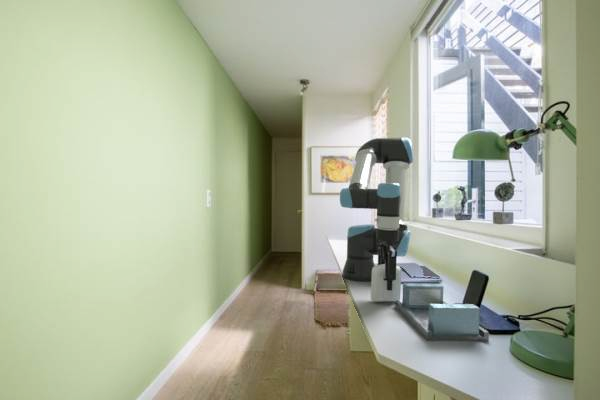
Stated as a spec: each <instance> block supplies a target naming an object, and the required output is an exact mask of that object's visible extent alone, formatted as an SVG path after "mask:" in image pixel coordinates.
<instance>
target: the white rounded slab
mask: <svg viewBox="0 0 600 400" xmlns="http://www.w3.org/2000/svg"><path fill="white" fill-rule="evenodd" d="M385 278H386V277H385V264H381V265H378V264H377V265H375V266H374V267H373V268H372V278H371V281H370V283H371V284H370V285H371V286H370V299H371V301H373V302H376V303H377V302H394V301H395V300H399V301H400V300H401V292H402V291H401V286H402V268H400V265H399V266H398V265H396V280H393V300H384V280H383V279H385Z"/></svg>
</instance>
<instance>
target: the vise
mask: <svg viewBox="0 0 600 400" xmlns="http://www.w3.org/2000/svg"><path fill="white" fill-rule="evenodd" d="M394 307H395V309H397V311H398V312H399V313H400V314H401V315H402V316H403V317H404V318H405V319H406V320H407V321H408V322H409V323H410V324H411V325H412V326H413V327H414V329H416V331H417V332H419V333H420V335H422V337H424V339H426V341H447V342H448V341H450V342H451V341H455V342H456V341H459V342H461V341H469V342H471V341H473V342H474V341H475V342H477V341H478V342H479V341H481V342H482V341H483V342H484V341H485V342H487V341H488V342H489V340H490V339H489V338H490V337H489V335H490V333H489V331H488V330H487V329H485V328H484V327H482V326H481V325H480V311H481V310H480V309H481V308H480V307H479V306H477V305H475V304H473V303H464V304H463V303H447V302H445V301H444V300H443V304H429V308H406V307H405V306H404V305H403V304H402V302H401V301H400V300H395V302H394Z"/></svg>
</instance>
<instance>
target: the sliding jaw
mask: <svg viewBox="0 0 600 400" xmlns="http://www.w3.org/2000/svg"><path fill="white" fill-rule="evenodd" d="M401 300H402V302H401V303H402V304H403V305H404V306H405V307H406V308H429V304H443V301H444V285H442V284H440V283H411V282H410V283H407V282H406V283H402V299H401Z"/></svg>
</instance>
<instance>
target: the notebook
mask: <svg viewBox="0 0 600 400" xmlns="http://www.w3.org/2000/svg"><path fill="white" fill-rule="evenodd" d="M419 266H420V267H421V268H422V269H423V273H424V274H423V275H424V276H430V277H438V278H440V279H441V277H440V275H438V274H437V273H435V272H434V271H432V269H430V268H428V267H427V266H425V265H419Z"/></svg>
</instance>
